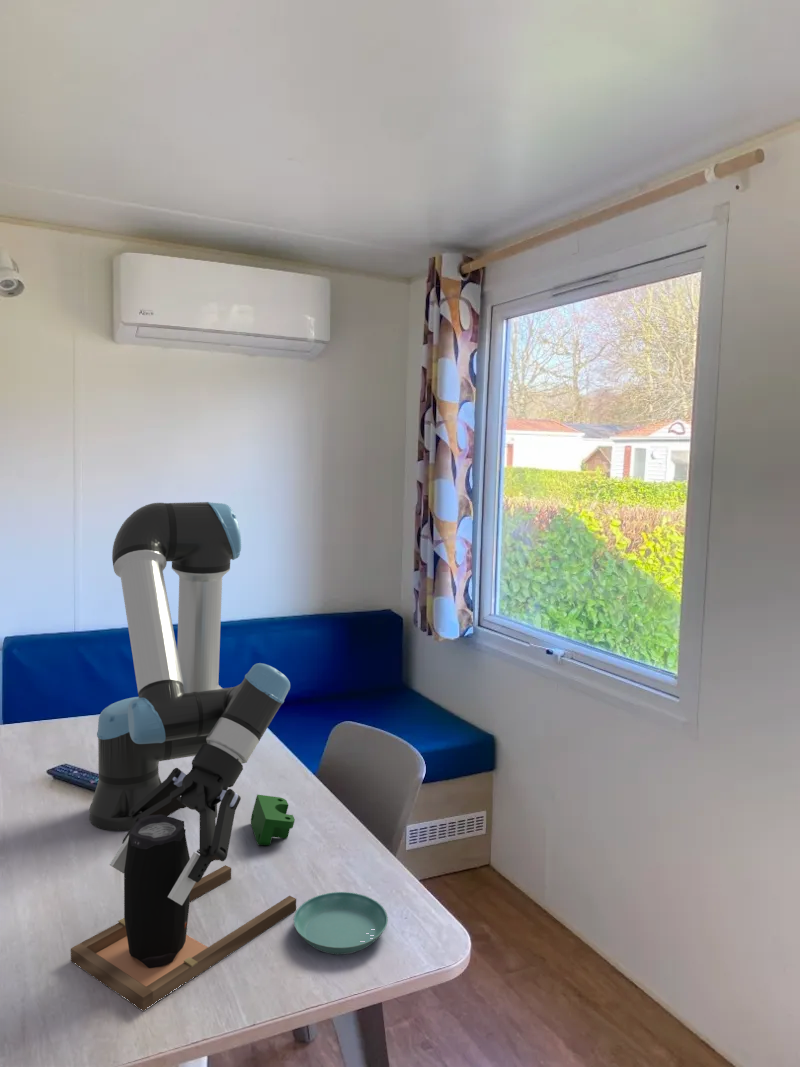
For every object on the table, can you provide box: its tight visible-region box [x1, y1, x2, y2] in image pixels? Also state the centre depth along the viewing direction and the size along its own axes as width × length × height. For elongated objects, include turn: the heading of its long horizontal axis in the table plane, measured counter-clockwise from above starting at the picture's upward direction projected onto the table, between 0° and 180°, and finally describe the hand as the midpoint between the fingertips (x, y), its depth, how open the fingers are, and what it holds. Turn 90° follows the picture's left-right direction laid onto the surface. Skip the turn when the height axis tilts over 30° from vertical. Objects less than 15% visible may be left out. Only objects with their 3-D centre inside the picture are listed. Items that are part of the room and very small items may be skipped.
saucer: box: [293, 891, 389, 955], centre depth 121 cm, size 15×15×3 cm
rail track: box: [70, 865, 297, 1012], centre depth 120 cm, size 17×30×2 cm, turn 145°
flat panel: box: [96, 934, 209, 987], centre depth 115 cm, size 14×11×1 cm
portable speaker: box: [123, 814, 191, 968], centre depth 114 cm, size 9×9×20 cm
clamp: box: [250, 794, 296, 847], centre depth 152 cm, size 12×6×9 cm, turn 13°
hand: (144, 885), depth 112 cm, fingers open, 13 cm apart
